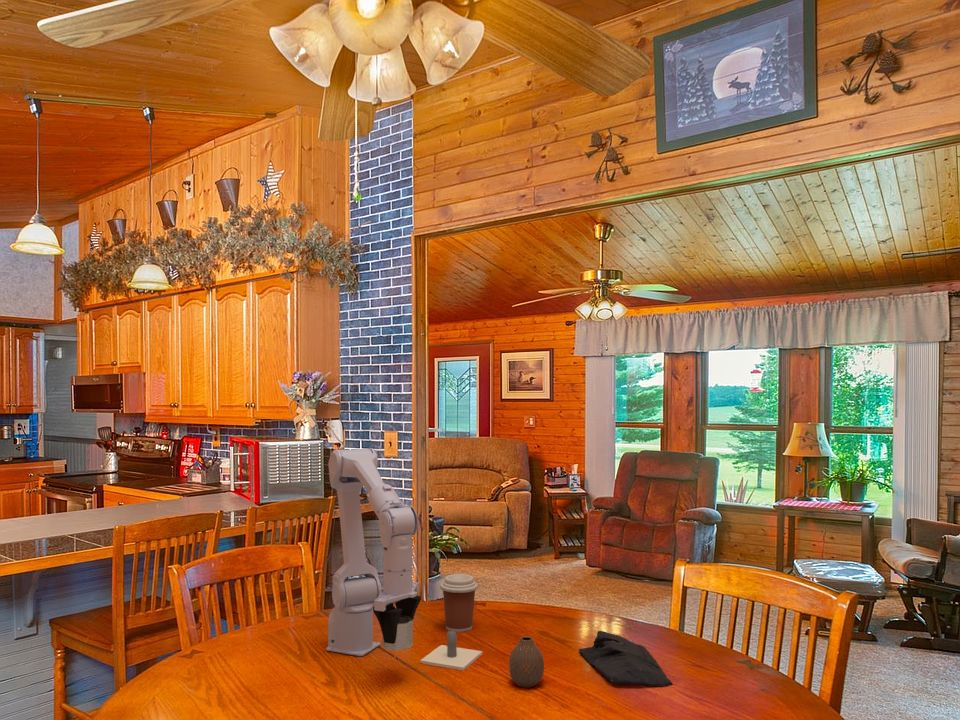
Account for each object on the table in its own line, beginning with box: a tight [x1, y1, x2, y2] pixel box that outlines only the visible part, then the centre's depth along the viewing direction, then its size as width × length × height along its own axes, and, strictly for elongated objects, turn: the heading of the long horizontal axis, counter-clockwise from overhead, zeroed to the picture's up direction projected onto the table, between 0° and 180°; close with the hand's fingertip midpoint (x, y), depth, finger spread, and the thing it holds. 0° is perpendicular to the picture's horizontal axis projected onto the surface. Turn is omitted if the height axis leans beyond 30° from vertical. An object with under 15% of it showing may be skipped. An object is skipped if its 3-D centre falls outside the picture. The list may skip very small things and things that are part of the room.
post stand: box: [419, 630, 483, 671], centre depth 156 cm, size 10×10×6 cm
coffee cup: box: [439, 573, 479, 633], centre depth 177 cm, size 9×9×12 cm
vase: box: [508, 635, 545, 688], centre depth 143 cm, size 7×7×9 cm
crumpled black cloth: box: [578, 630, 673, 687], centre depth 152 cm, size 15×22×5 cm
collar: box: [382, 615, 414, 652], centre depth 145 cm, size 6×6×5 cm
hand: (397, 637), depth 145 cm, fingers closed on collar, 5 cm apart
